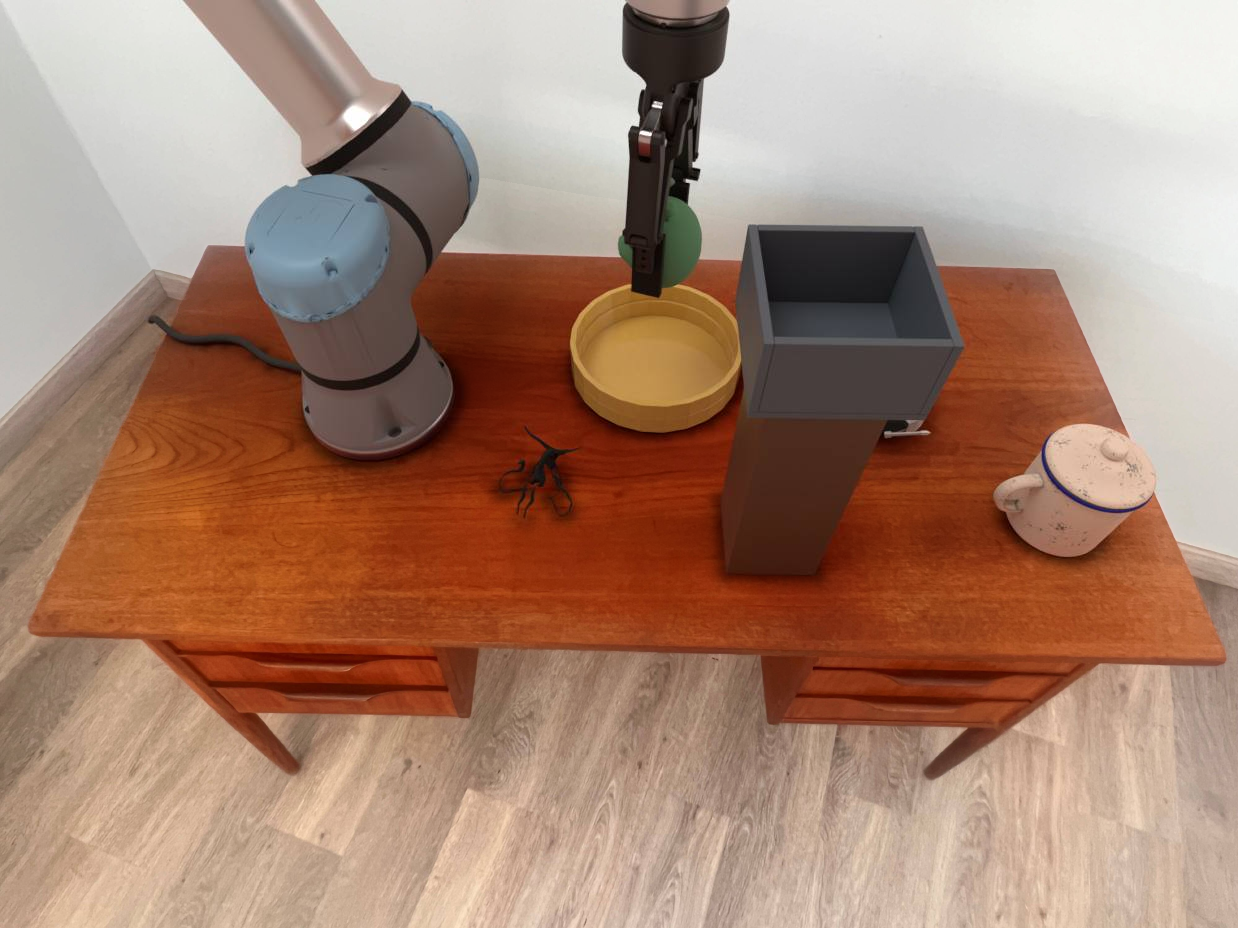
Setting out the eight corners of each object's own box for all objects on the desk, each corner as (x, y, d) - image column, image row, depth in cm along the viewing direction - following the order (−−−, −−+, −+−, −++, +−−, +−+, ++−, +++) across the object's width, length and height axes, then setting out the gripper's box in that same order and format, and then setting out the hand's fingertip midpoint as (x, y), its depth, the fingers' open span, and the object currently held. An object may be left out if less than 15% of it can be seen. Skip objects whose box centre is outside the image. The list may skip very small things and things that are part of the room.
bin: (708, 587, 66) (764, 343, 41) (703, 487, 72) (748, 223, 47) (834, 589, 66) (965, 346, 41) (817, 489, 72) (923, 226, 47)
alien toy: (616, 256, 73) (618, 164, 65) (694, 256, 73) (705, 164, 65) (617, 305, 69) (619, 213, 61) (699, 305, 69) (712, 213, 61)
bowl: (547, 408, 78) (544, 380, 74) (604, 297, 88) (603, 267, 84) (714, 453, 75) (719, 425, 71) (753, 332, 85) (760, 302, 81)
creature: (560, 537, 70) (595, 466, 73) (550, 518, 65) (588, 443, 68) (489, 508, 72) (526, 440, 75) (474, 487, 67) (514, 415, 70)
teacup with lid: (1076, 476, 73) (1144, 400, 64) (1119, 558, 68) (1200, 487, 58) (958, 483, 73) (1009, 407, 63) (991, 565, 67) (1052, 496, 58)
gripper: (691, 82, 45) (666, 347, 64) (760, -45, 56) (722, 213, 75) (575, 61, 46) (585, 327, 65) (665, -59, 57) (651, 198, 76)
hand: (658, 266), depth 70 cm, fingers closed on alien toy, 7 cm apart
